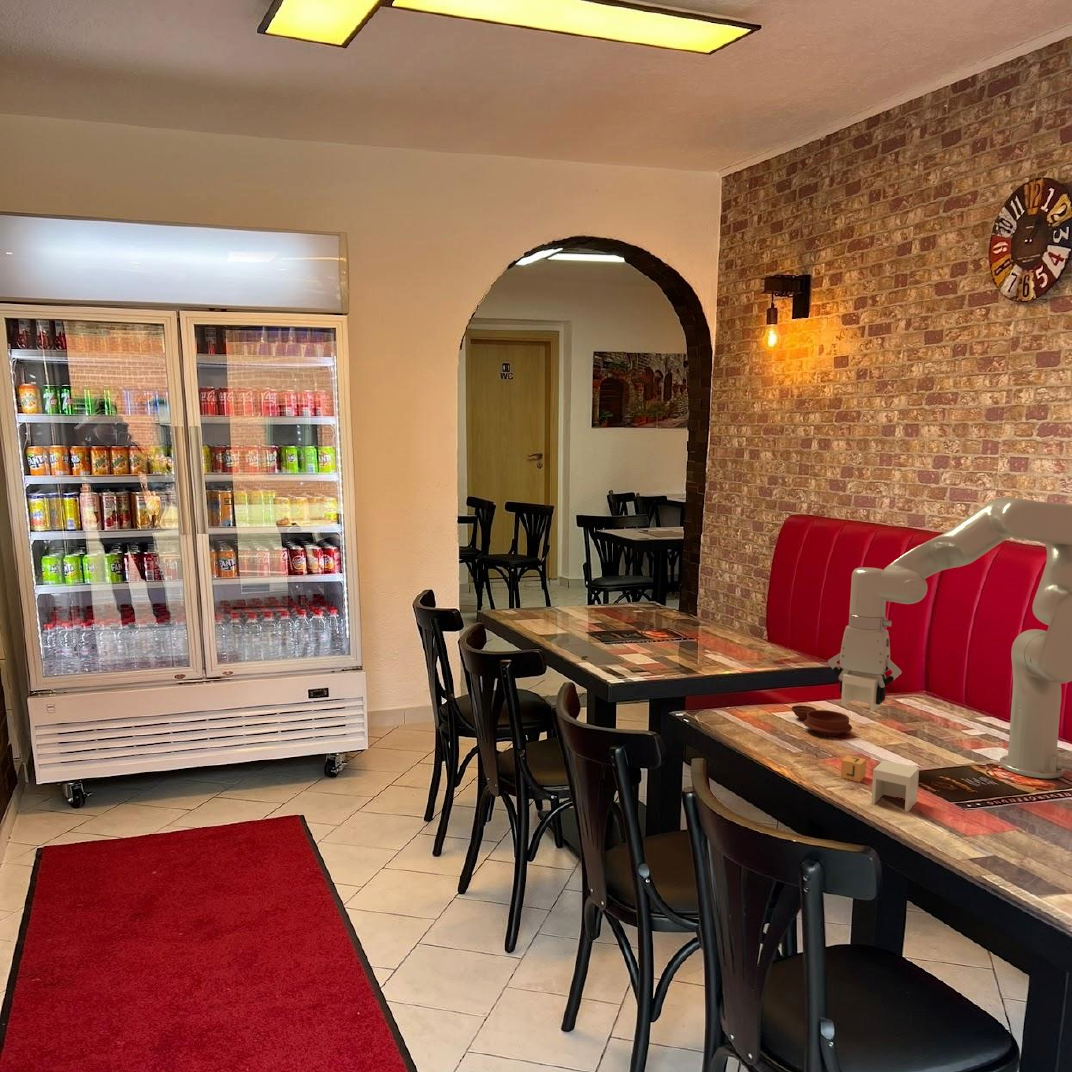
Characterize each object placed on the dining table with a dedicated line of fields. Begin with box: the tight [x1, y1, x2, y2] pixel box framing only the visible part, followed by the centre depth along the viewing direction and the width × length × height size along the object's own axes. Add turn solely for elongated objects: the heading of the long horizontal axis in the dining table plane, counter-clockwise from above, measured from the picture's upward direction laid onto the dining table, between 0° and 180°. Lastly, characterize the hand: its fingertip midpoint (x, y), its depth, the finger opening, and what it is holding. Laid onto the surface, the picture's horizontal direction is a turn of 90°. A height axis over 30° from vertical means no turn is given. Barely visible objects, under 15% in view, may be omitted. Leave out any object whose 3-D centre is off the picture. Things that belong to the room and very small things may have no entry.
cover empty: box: [870, 759, 920, 813], centre depth 180 cm, size 7×7×7 cm
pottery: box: [791, 705, 853, 737], centre depth 230 cm, size 12×20×4 cm, turn 15°
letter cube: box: [840, 755, 867, 783], centre depth 194 cm, size 4×4×4 cm
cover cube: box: [840, 671, 883, 712], centre depth 203 cm, size 7×7×7 cm
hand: (861, 699), depth 203 cm, fingers closed on cover cube, 7 cm apart
